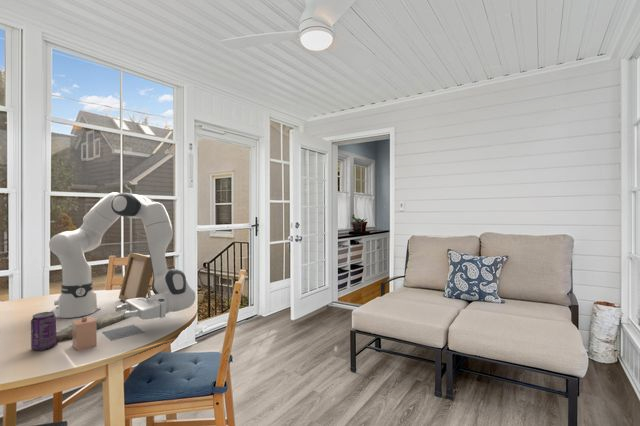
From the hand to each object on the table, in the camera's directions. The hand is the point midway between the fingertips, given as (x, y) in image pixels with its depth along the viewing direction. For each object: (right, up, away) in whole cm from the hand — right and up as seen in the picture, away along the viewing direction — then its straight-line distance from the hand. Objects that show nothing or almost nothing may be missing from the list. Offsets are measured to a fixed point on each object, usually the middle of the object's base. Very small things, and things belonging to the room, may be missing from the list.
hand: (120, 311), depth 134 cm
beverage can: (-22, -10, -10) cm, 26 cm away
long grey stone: (-16, -10, +11) cm, 21 cm away
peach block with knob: (-7, -10, -9) cm, 16 cm away
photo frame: (-17, -8, +48) cm, 52 cm away
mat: (-1, -10, +4) cm, 11 cm away
